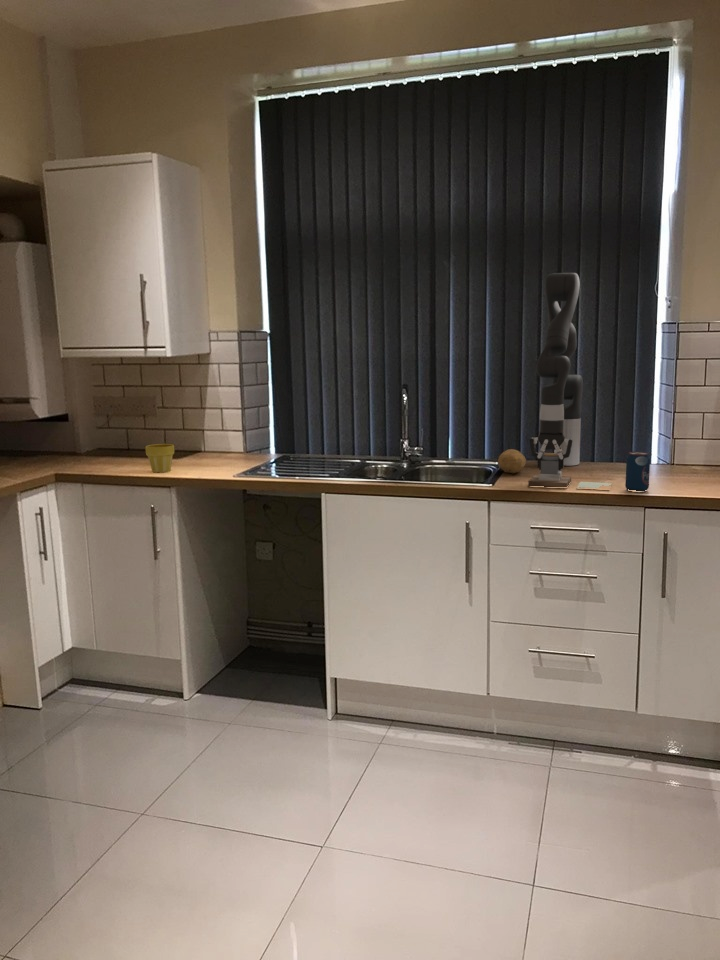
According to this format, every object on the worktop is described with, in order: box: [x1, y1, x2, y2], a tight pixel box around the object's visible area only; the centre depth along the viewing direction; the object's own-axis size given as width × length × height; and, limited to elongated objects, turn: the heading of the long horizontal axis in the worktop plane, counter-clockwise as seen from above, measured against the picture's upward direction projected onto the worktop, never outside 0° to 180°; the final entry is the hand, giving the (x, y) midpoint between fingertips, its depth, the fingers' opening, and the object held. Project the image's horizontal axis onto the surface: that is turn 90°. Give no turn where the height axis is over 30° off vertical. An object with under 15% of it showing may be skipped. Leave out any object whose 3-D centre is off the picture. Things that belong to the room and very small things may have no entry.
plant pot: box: [144, 443, 175, 473], centre depth 301 cm, size 10×10×10 cm
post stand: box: [528, 471, 572, 487], centre depth 264 cm, size 12×12×8 cm
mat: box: [576, 481, 613, 488], centre depth 259 cm, size 10×10×1 cm
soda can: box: [624, 451, 651, 491], centre depth 252 cm, size 7×7×12 cm
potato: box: [497, 448, 527, 474], centre depth 286 cm, size 10×14×8 cm
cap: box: [540, 452, 561, 475], centre depth 263 cm, size 6×6×6 cm
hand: (550, 469), depth 264 cm, fingers closed on cap, 5 cm apart
